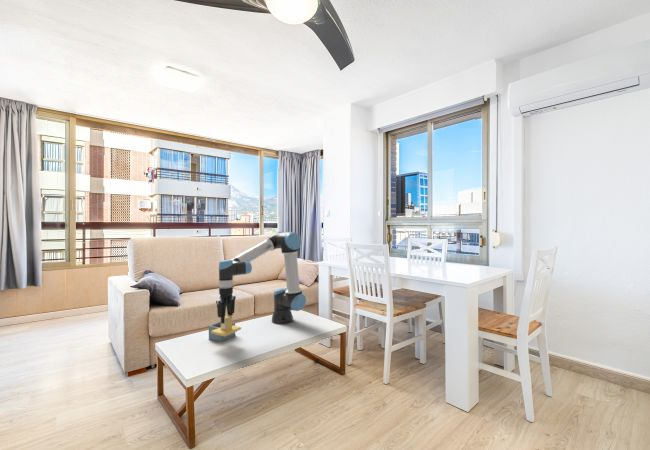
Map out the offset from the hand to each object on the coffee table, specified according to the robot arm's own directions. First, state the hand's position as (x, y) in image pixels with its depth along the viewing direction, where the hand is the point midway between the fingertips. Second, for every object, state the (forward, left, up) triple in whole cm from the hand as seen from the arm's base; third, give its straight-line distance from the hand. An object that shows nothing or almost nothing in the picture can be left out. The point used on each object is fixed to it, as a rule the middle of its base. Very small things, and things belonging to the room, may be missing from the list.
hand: (226, 327), depth 178 cm
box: (-9, -13, -11) cm, 19 cm away
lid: (0, 0, -2) cm, 2 cm away
